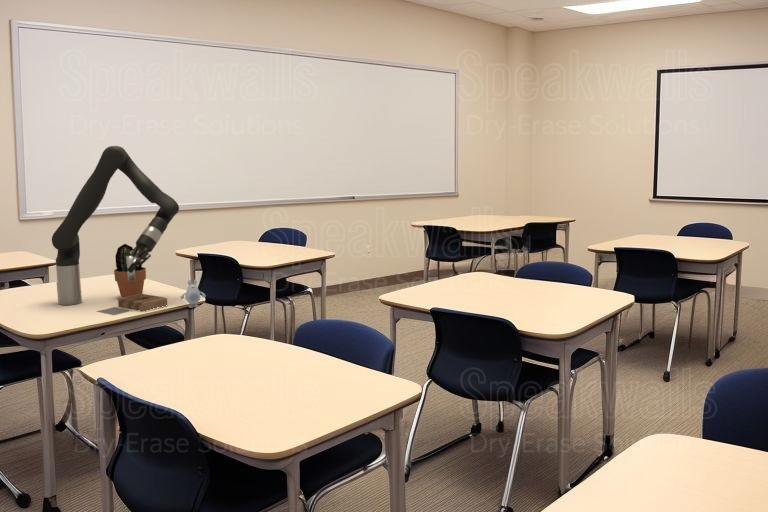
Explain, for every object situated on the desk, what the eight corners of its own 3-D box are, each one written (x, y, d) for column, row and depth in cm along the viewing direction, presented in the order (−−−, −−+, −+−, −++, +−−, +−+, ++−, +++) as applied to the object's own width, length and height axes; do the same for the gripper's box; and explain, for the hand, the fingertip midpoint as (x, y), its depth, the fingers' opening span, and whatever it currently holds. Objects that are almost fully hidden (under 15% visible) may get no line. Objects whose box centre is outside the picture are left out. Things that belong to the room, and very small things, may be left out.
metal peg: (126, 279, 289) (124, 256, 287) (132, 278, 291) (130, 255, 290) (130, 280, 287) (129, 257, 286) (136, 279, 290) (135, 256, 288)
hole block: (118, 307, 294) (117, 298, 293) (142, 302, 304) (141, 293, 303) (144, 312, 285) (143, 303, 284) (167, 307, 295) (167, 298, 294)
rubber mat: (95, 312, 286) (95, 311, 286) (114, 308, 293) (114, 307, 293) (113, 316, 279) (113, 315, 279) (132, 311, 287) (132, 310, 286)
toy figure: (181, 310, 290) (180, 282, 288) (179, 306, 295) (178, 279, 293) (207, 307, 294) (206, 280, 292) (204, 304, 299) (203, 277, 298)
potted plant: (148, 299, 311) (145, 244, 307) (116, 301, 305) (113, 246, 301) (146, 293, 323) (142, 240, 319) (115, 295, 317) (111, 242, 313)
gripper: (133, 232, 296) (110, 264, 288) (154, 234, 289) (131, 267, 280) (144, 243, 301) (122, 275, 293) (165, 245, 294) (143, 278, 286)
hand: (126, 271), depth 287 cm, fingers closed on metal peg, 3 cm apart
